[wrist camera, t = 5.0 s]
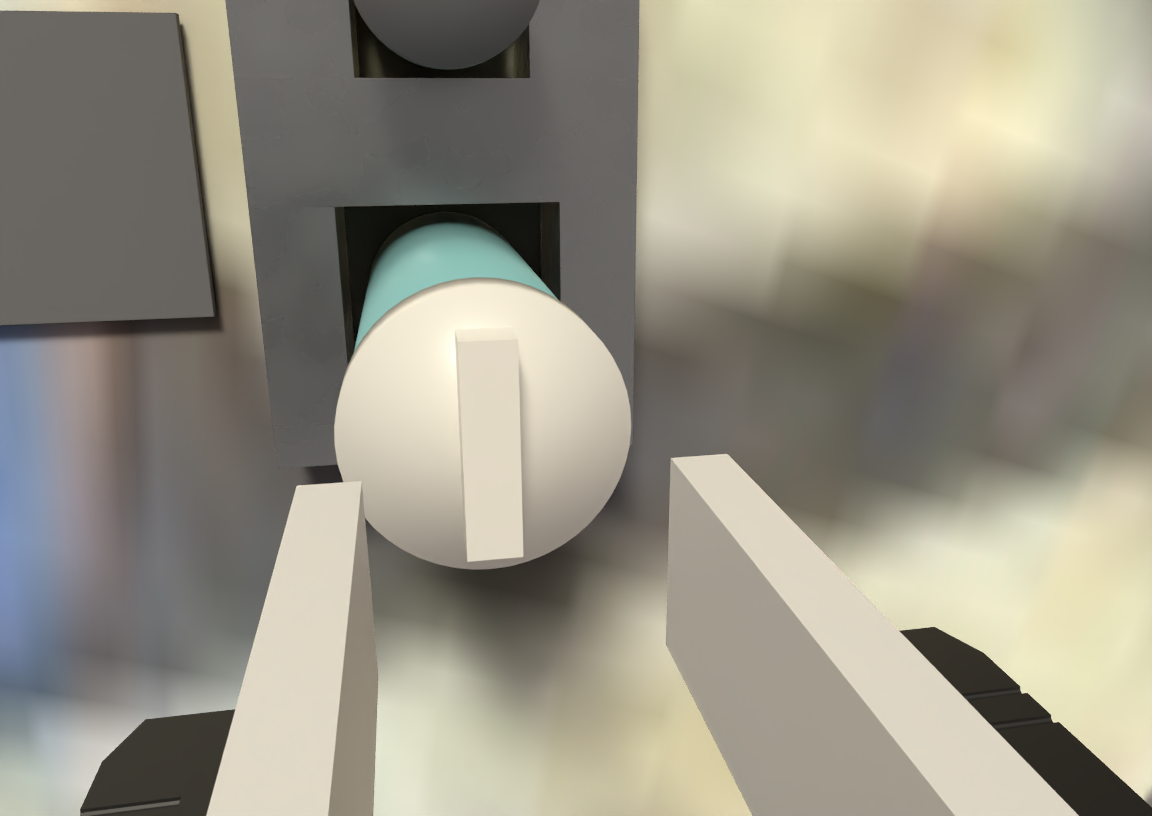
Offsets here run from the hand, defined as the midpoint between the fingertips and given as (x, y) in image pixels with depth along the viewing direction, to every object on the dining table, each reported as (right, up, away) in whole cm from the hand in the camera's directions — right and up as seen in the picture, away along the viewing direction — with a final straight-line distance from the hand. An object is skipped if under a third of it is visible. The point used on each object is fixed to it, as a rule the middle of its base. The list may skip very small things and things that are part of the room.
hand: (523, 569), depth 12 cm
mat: (-16, +9, +16) cm, 24 cm away
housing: (-4, +10, +18) cm, 21 cm away
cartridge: (-4, +6, +19) cm, 21 cm away
